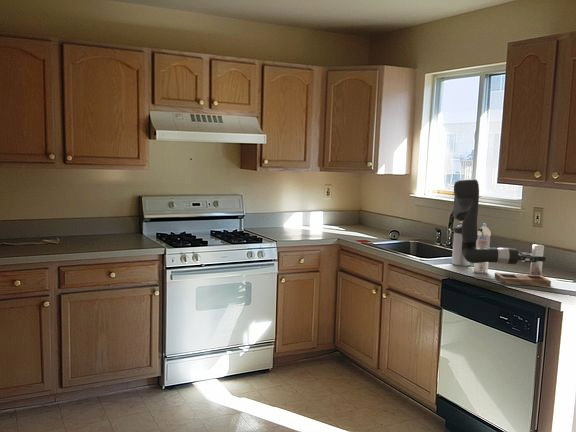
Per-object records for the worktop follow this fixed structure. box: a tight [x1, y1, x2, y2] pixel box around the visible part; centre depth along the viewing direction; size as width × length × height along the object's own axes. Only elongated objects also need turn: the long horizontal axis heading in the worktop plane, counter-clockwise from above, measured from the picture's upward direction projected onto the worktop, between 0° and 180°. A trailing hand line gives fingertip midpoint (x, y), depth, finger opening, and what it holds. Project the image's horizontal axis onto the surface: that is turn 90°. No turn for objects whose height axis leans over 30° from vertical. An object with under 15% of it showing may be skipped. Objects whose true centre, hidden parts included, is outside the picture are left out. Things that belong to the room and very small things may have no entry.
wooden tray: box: [494, 272, 552, 287], centre depth 263 cm, size 12×22×3 cm, turn 85°
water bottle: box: [473, 223, 492, 275], centre depth 279 cm, size 7×7×25 cm
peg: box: [529, 243, 545, 276], centre depth 261 cm, size 5×5×14 cm
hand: (542, 258), depth 261 cm, fingers closed on peg, 5 cm apart
